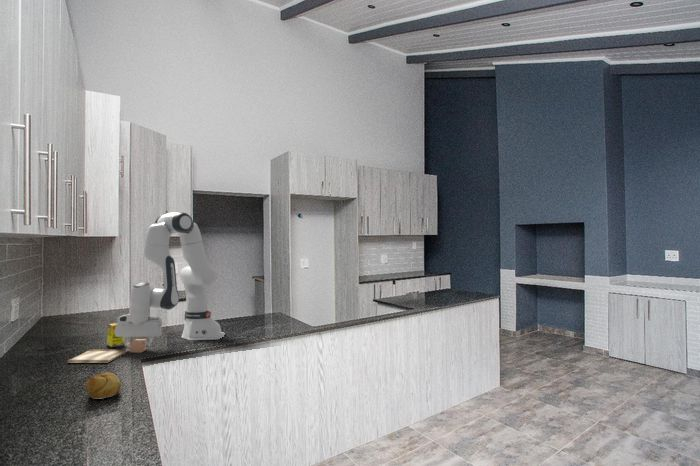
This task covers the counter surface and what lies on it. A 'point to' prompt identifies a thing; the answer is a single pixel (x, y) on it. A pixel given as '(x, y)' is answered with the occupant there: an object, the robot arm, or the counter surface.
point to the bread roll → (103, 385)
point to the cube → (138, 345)
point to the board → (97, 356)
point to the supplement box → (114, 337)
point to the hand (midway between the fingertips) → (137, 346)
